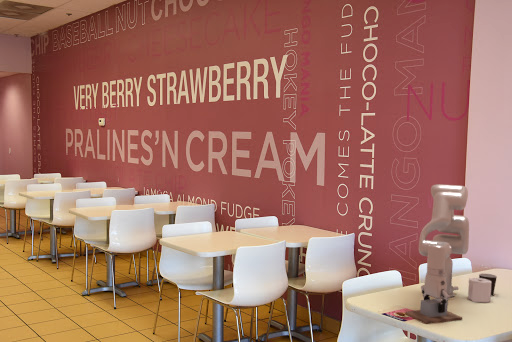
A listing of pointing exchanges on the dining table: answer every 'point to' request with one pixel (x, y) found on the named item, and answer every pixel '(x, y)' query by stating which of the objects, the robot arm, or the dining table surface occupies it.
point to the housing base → (430, 320)
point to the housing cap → (431, 308)
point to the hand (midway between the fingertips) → (433, 309)
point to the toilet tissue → (479, 290)
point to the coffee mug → (491, 278)
